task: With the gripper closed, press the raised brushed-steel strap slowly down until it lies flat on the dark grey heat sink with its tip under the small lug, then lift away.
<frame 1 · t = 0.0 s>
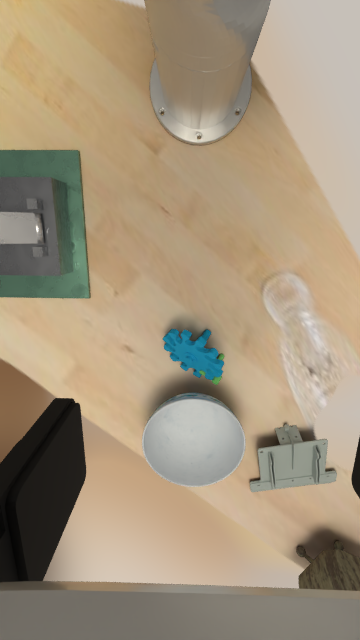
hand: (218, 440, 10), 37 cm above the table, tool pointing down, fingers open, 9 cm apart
tabletop clock: (330, 547, 59), on the table
metal bracket: (288, 455, 54), on the table
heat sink: (9, 228, 44), on the table
chinaware: (192, 414, 52), on the table
gear: (194, 347, 49), on the table
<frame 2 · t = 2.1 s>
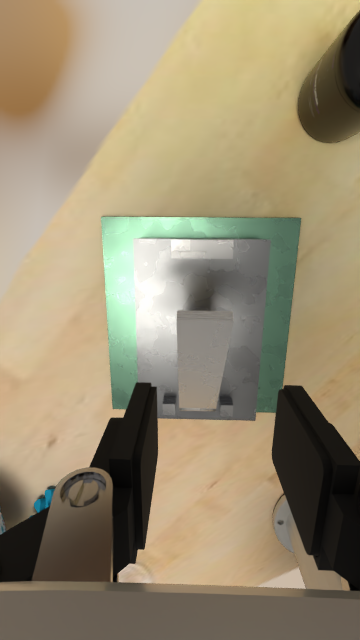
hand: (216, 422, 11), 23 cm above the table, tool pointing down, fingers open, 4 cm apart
supplement bottle: (332, 104, 28), on the table
steel strap: (200, 372, 25), point 10 cm above the table, hinge at -35.0°
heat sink: (197, 321, 34), on the table
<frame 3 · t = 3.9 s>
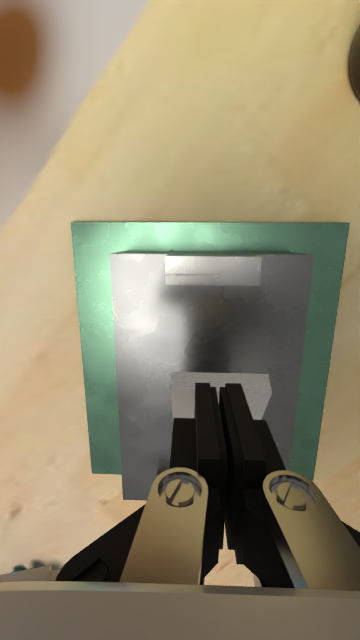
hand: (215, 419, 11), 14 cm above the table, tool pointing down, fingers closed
steel strap: (209, 453, 17), point 10 cm above the table, hinge at -32.2°, touching gripper
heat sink: (203, 361, 25), on the table
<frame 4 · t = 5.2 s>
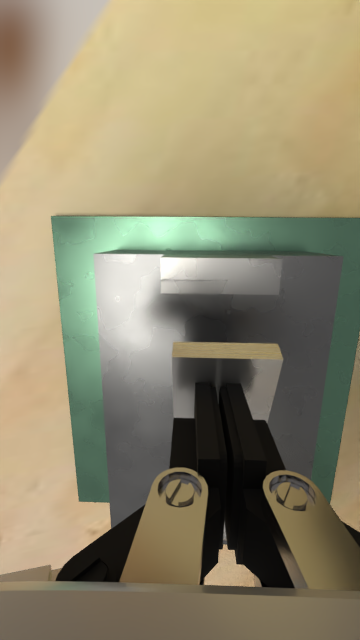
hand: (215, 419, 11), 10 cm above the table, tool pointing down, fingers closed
steel strap: (213, 467, 14), point 8 cm above the table, hinge at -19.6°, touching gripper
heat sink: (206, 377, 22), on the table
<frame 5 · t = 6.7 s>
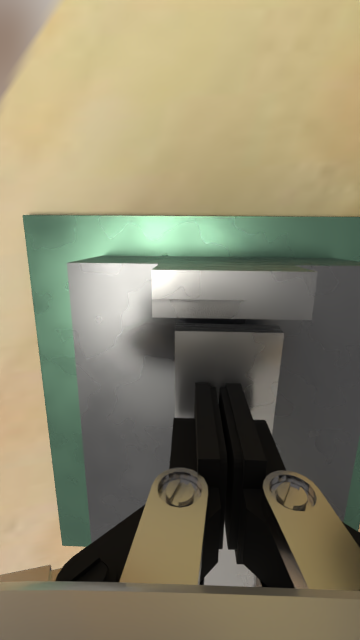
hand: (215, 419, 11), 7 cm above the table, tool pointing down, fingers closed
steel strap: (218, 491, 13), point 6 cm above the table, hinge at -3.1°, touching gripper
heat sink: (209, 405, 19), on the table
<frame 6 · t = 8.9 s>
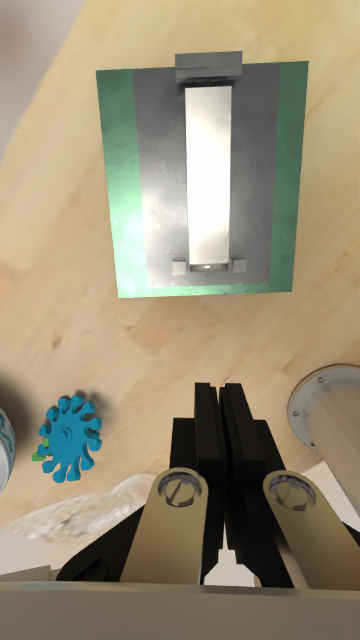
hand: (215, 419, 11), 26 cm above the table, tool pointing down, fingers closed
steel strap: (208, 188, 27), point 6 cm above the table, hinge at -2.9°
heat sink: (203, 192, 33), on the table
gear: (76, 419, 41), on the table
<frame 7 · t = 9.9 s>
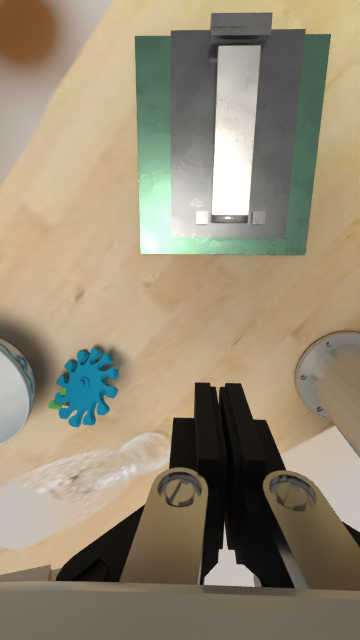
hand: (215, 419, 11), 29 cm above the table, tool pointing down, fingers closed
steel strap: (233, 142, 29), point 6 cm above the table, hinge at -2.9°
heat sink: (226, 155, 35), on the table
chinaware: (4, 366, 43), on the table
gear: (92, 374, 43), on the table
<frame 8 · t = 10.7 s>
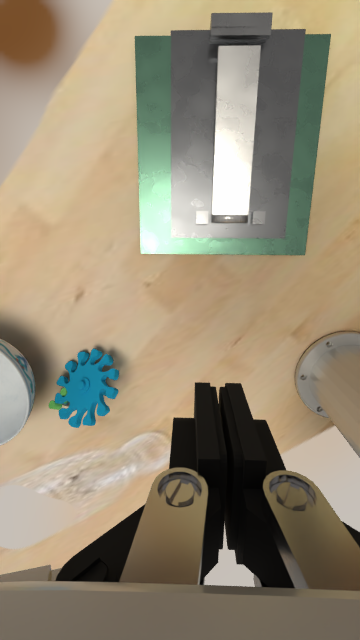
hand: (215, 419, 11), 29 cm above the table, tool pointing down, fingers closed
steel strap: (233, 142, 29), point 6 cm above the table, hinge at -2.9°
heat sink: (226, 155, 35), on the table
chinaware: (4, 366, 43), on the table
gear: (92, 375, 43), on the table
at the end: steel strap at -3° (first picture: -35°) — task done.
